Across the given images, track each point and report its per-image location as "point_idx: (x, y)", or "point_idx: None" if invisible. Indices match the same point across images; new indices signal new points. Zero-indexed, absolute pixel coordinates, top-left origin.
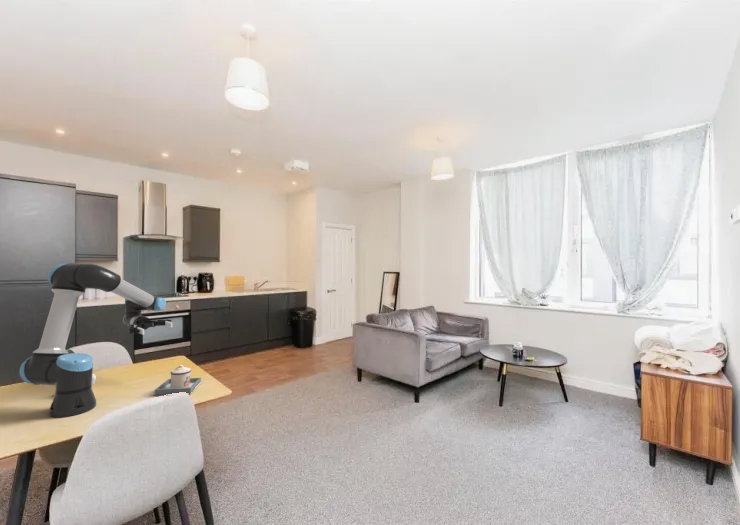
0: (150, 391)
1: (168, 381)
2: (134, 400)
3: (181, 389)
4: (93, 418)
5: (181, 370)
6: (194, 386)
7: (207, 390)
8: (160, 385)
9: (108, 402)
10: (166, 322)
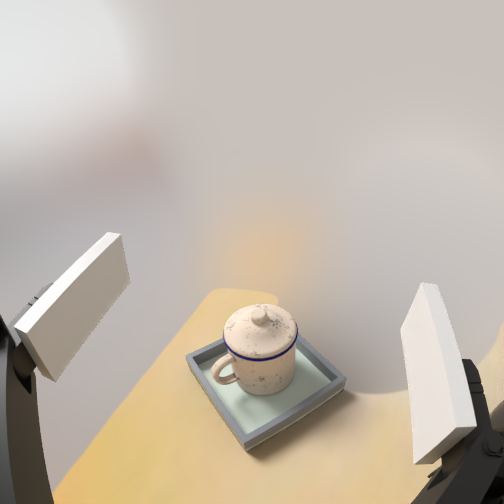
0: (328, 440)
1: (255, 431)
2: (397, 401)
3: None
4: (487, 357)
5: (272, 309)
6: None
7: (232, 314)
8: (310, 401)
9: None
10: (54, 315)
